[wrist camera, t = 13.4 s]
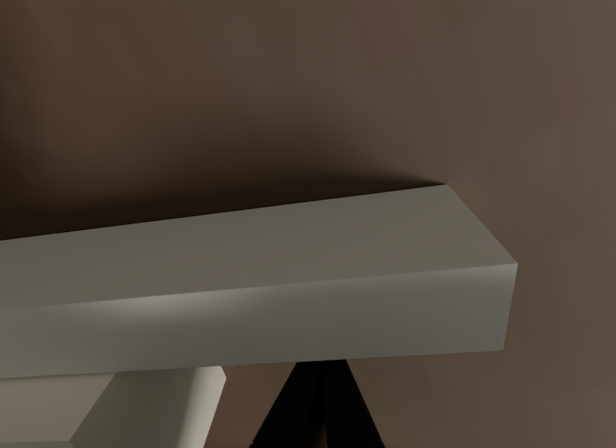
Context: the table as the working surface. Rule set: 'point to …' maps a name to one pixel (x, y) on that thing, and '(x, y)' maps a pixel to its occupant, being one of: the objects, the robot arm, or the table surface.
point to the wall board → (257, 287)
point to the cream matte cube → (110, 409)
